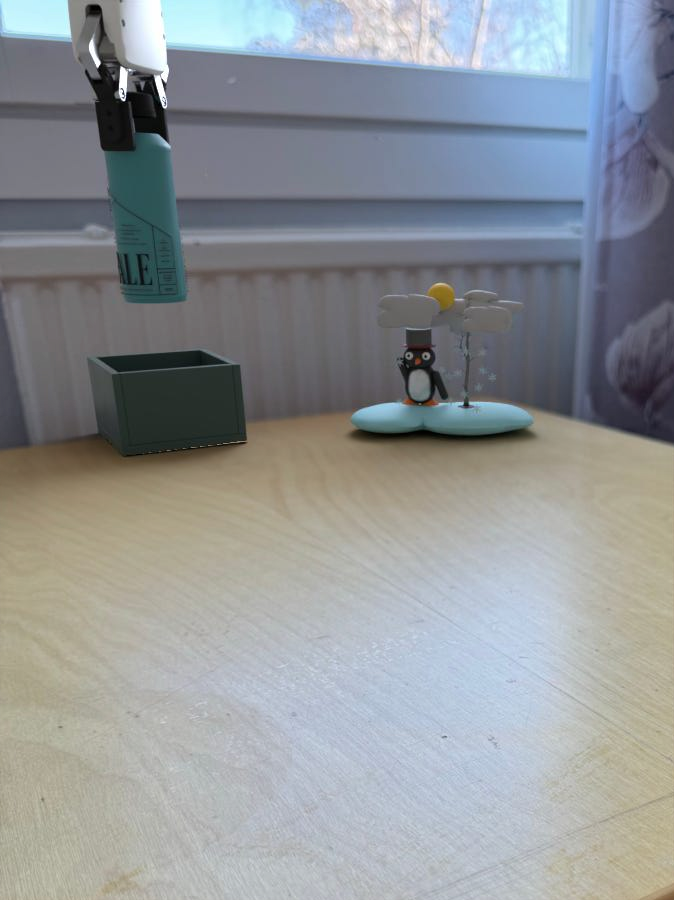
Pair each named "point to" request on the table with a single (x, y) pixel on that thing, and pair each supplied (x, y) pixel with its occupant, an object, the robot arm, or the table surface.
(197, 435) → the holder bin
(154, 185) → the beverage bottle
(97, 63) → the robot arm
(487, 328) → the penguin figurine
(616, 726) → the table surface
